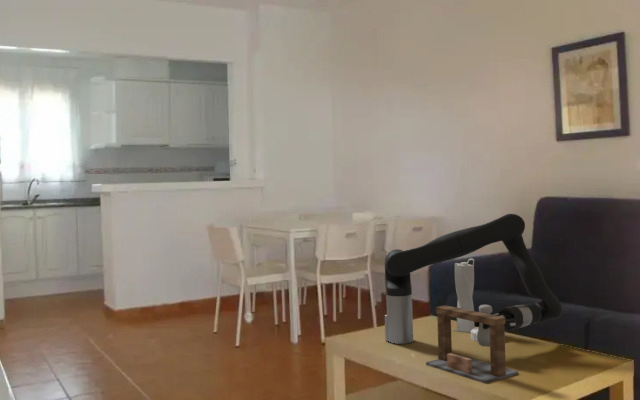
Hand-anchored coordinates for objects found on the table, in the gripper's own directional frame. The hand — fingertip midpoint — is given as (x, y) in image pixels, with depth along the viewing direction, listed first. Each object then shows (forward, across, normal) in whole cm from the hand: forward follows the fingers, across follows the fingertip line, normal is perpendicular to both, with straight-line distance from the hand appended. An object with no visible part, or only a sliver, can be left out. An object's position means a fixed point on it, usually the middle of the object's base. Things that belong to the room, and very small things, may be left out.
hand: (479, 324), depth 217 cm
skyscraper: (-26, -31, +12) cm, 42 cm away
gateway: (+10, +5, +11) cm, 16 cm away
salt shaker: (-3, 0, +7) cm, 8 cm away
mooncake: (-22, -17, +12) cm, 31 cm away
